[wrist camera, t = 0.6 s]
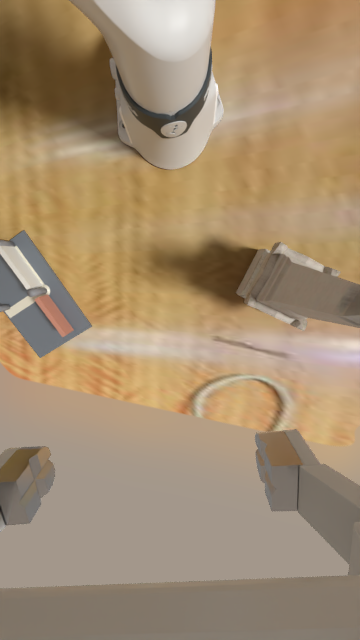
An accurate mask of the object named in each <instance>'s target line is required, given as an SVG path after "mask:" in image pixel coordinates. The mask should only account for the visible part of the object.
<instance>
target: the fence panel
mask: <svg viewBox="0 0 360 640" xmlns="http://www.w3.org/2000/svg"><path fill="white" fill-rule="evenodd" d="M34 300H35V301H36V303H37V304H38V305H39V307H40V308H41V309H42V311H43V312H44V313H45V315H46V316H47V317H48V319H49V320H50V321H51V323H52V324H53V325H54V327H55V328H56V329H57V331H58V332H59V333H60V335H61V336H62V337H64V336H66V335H67V334H69V333H70V332H72V331H74V329H73V328H72V326H71V325H70V324H69V322H68V321H67V320H66V318H65V317H64V315H63V314H62V313H61V311H60V310H59V309H58V307H57V306H56V304H55V303H54V302H53V300H52V299H51V298H50V296H49V295H44V296H40V297H38V298H36V299H34Z"/></svg>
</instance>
